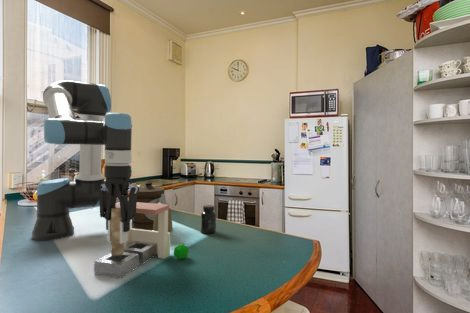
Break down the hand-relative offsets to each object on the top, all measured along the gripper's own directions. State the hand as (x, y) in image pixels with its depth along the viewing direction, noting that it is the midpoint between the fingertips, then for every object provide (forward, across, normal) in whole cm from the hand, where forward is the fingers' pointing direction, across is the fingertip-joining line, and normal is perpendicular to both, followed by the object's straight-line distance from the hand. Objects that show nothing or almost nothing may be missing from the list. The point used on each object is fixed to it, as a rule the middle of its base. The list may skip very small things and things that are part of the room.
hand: (117, 241), depth 89 cm
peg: (+4, 0, 0) cm, 4 cm away
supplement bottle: (+9, +12, +46) cm, 48 cm away
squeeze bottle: (+9, -4, +34) cm, 36 cm away
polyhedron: (+9, +14, +15) cm, 23 cm away
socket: (+9, 0, 0) cm, 9 cm away
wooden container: (+9, -18, +45) cm, 49 cm away
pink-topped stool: (+9, 0, +12) cm, 15 cm away
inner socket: (+9, 0, +11) cm, 14 cm away
